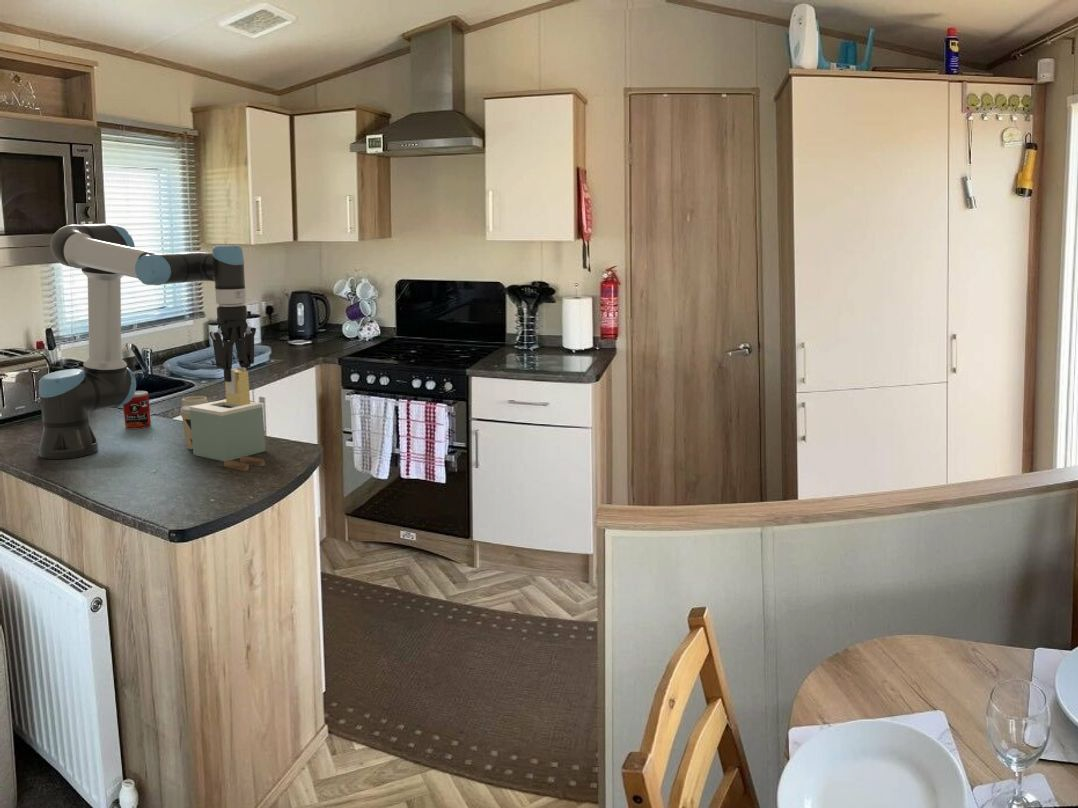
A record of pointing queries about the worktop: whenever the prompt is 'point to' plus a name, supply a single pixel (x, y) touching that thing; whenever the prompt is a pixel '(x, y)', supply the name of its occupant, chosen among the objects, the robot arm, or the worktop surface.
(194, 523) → the worktop surface
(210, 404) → the green cube box
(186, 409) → the coffee cup
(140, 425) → the canned food
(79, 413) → the robot arm
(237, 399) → the yellow wooden block
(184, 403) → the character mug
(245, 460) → the holder
